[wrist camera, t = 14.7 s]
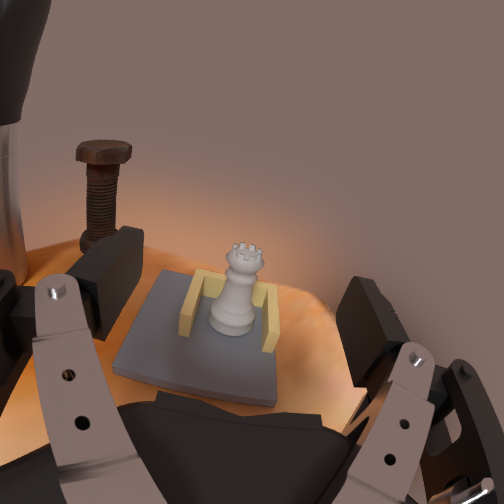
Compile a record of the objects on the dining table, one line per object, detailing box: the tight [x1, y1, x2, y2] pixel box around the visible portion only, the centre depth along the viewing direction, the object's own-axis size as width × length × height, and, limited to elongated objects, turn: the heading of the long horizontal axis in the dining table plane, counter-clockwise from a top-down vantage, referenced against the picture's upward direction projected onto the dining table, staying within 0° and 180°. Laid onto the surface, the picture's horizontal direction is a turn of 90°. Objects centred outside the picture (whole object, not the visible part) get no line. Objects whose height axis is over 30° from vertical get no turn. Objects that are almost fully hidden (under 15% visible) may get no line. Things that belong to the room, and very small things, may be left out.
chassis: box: [112, 269, 280, 407], centre depth 26 cm, size 13×15×4 cm
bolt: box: [76, 140, 132, 254], centre depth 26 cm, size 6×5×15 cm
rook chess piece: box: [208, 242, 264, 337], centre depth 25 cm, size 4×4×8 cm
